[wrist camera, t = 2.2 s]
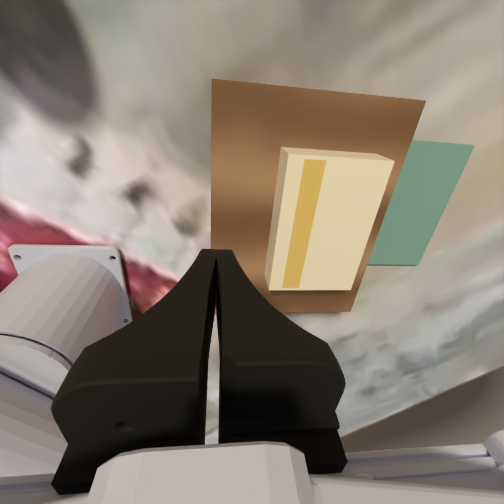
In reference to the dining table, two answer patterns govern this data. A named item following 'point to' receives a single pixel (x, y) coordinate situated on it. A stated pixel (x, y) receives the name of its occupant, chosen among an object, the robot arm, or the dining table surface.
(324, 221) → the cream rectangular block
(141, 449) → the robot arm
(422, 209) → the mat
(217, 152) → the brown wooden flat block
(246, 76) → the dining table surface
